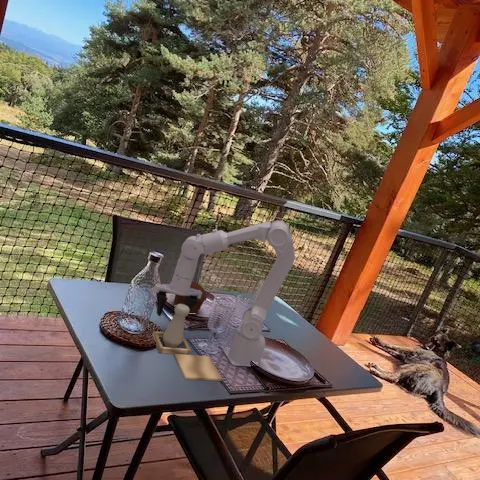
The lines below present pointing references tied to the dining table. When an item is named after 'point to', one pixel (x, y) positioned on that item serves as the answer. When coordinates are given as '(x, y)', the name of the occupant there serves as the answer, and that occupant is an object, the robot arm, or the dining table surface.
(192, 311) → the muffin
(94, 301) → the dining table surface
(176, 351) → the birch collar
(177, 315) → the beige bowling pin
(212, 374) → the cork mat
